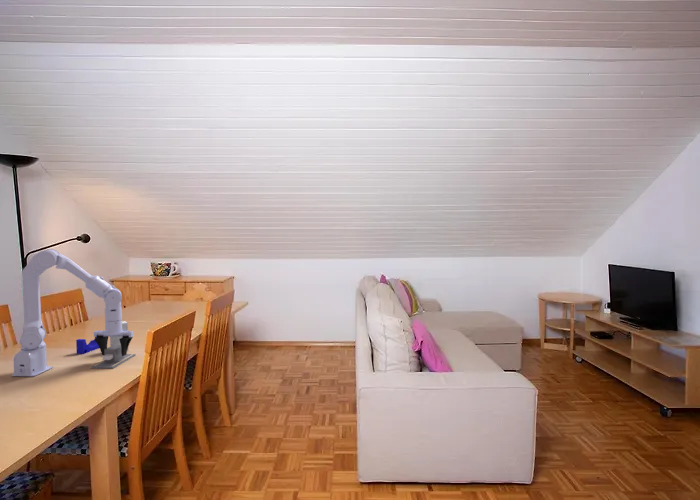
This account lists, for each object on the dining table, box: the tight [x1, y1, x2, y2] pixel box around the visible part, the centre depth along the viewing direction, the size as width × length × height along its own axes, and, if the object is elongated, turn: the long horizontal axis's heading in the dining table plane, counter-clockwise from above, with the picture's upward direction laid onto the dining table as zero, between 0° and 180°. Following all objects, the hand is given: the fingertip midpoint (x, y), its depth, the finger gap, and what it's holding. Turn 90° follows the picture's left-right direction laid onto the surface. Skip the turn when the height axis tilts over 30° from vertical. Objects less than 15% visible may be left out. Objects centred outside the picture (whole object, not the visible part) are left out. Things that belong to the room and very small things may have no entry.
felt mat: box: [90, 353, 136, 370], centre depth 163 cm, size 16×8×1 cm, turn 179°
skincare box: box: [109, 320, 129, 352], centre depth 177 cm, size 6×4×12 cm
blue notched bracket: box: [75, 337, 100, 355], centre depth 178 cm, size 12×4×6 cm, turn 171°
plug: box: [101, 345, 124, 363], centre depth 162 cm, size 4×9×5 cm, turn 179°
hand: (114, 355), depth 163 cm, fingers open, 7 cm apart
